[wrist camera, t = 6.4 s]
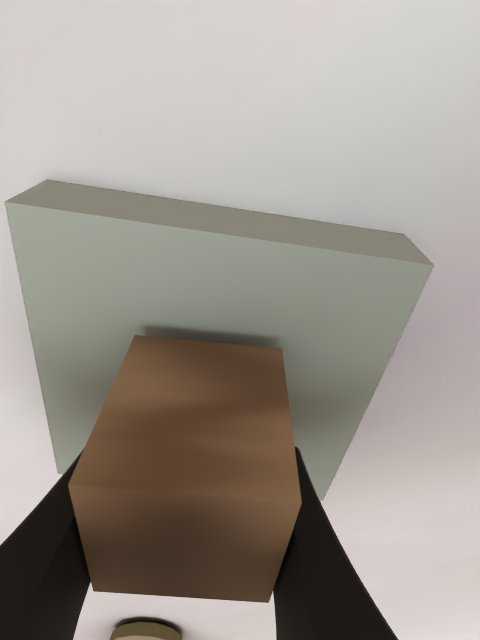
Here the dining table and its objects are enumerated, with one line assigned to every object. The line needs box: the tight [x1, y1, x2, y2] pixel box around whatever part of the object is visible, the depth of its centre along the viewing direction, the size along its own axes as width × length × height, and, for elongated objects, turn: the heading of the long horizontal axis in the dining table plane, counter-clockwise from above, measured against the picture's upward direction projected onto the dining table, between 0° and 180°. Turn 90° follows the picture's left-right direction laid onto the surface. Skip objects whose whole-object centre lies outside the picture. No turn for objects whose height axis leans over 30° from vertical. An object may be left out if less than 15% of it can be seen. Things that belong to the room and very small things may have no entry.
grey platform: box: [5, 180, 434, 500], centre depth 15 cm, size 12×12×3 cm
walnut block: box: [68, 335, 302, 603], centre depth 11 cm, size 4×4×5 cm
